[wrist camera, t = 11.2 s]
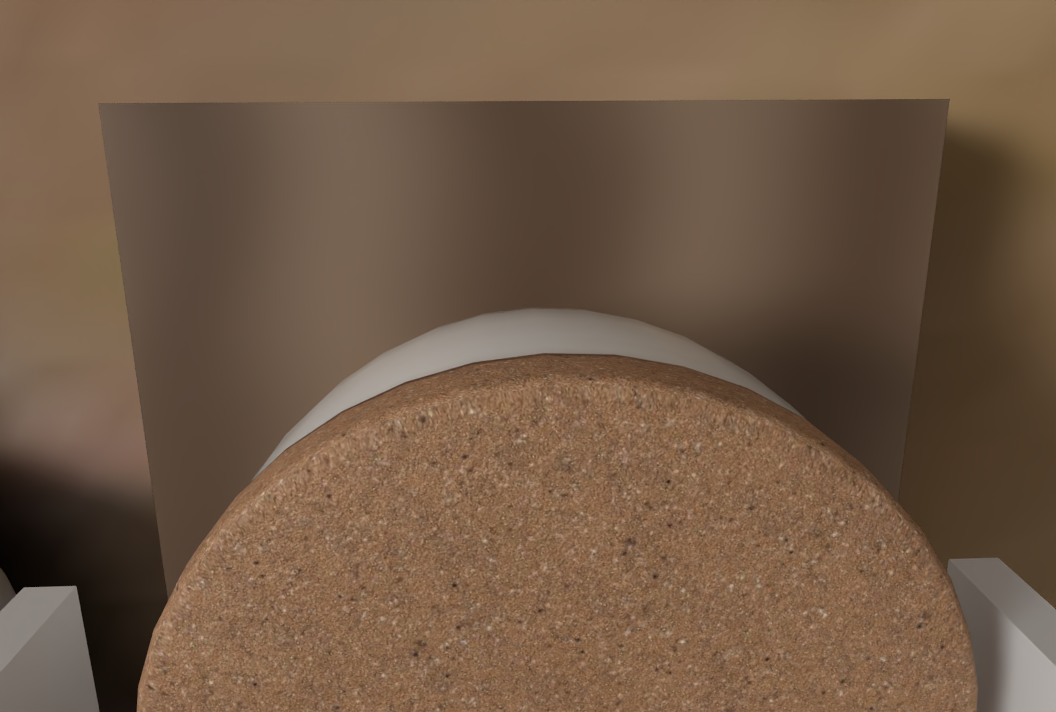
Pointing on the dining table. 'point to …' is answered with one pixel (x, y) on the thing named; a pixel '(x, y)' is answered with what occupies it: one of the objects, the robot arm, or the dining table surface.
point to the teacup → (5, 590)
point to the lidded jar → (560, 546)
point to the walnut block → (509, 254)
